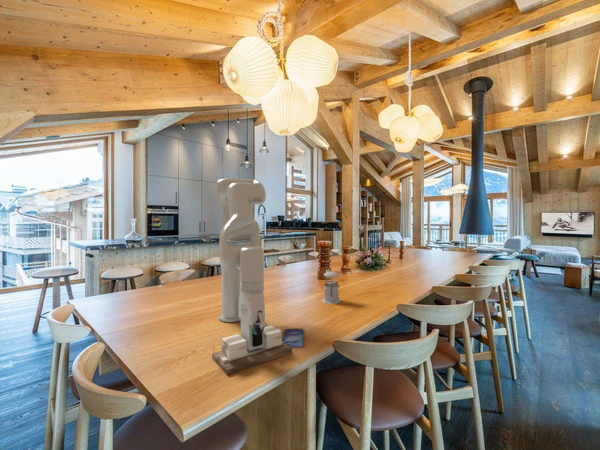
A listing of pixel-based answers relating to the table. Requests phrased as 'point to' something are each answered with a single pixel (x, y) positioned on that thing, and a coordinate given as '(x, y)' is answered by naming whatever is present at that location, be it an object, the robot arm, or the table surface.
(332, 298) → the french press
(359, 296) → the table surface
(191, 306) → the table surface
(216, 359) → the rail board
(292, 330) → the smartphone
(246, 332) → the module block
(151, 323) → the table surface
